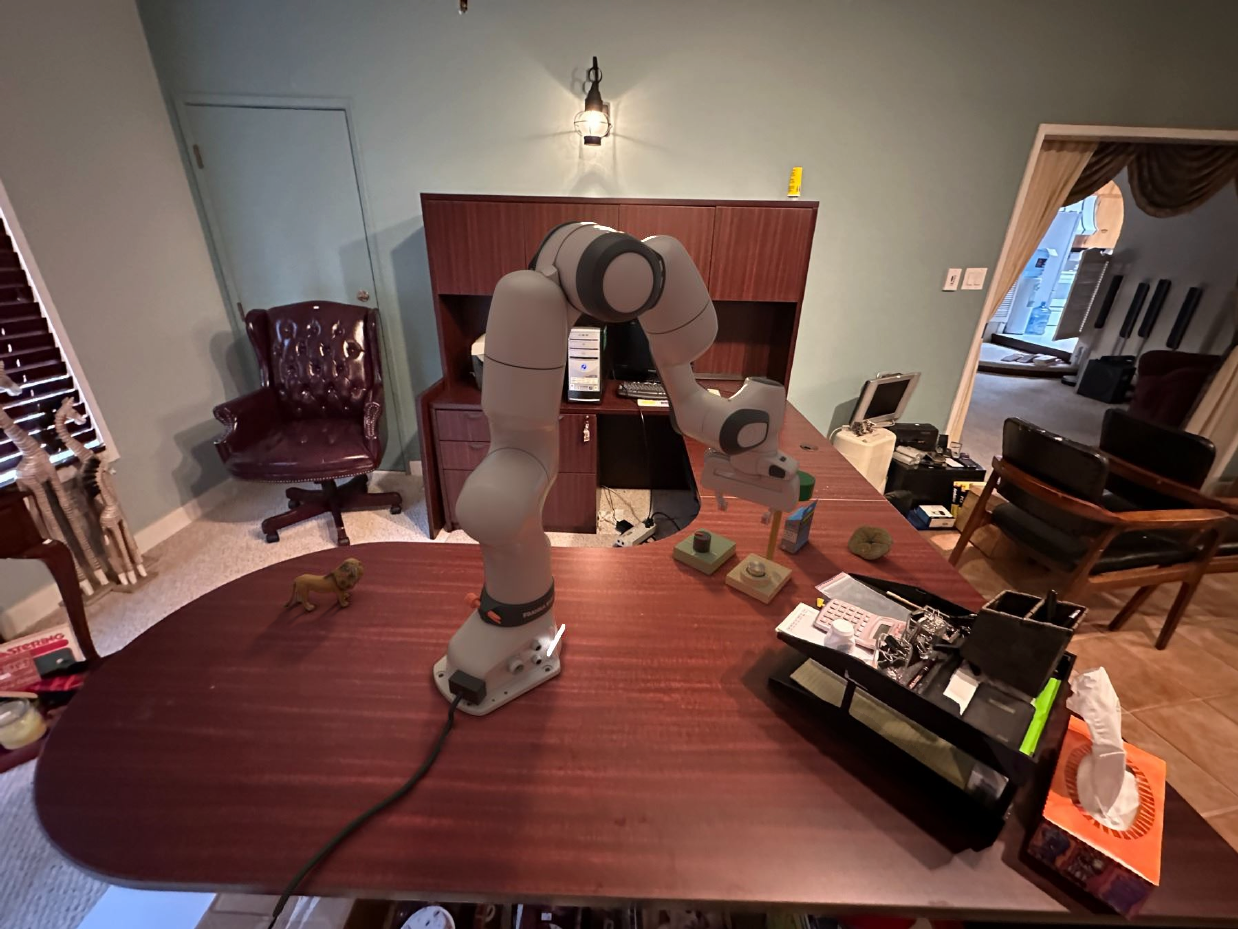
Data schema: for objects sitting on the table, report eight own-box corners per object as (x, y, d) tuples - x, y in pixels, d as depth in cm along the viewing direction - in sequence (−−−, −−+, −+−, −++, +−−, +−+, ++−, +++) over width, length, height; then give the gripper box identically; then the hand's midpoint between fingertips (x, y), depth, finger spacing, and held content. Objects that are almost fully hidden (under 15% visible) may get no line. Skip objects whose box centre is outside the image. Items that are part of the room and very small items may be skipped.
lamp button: (759, 579, 104) (760, 573, 104) (744, 572, 107) (745, 566, 106) (766, 572, 107) (768, 565, 106) (751, 565, 109) (753, 558, 108)
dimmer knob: (710, 545, 117) (712, 531, 115) (708, 554, 113) (710, 540, 112) (694, 541, 118) (695, 528, 116) (691, 550, 114) (692, 537, 113)
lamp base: (767, 604, 103) (770, 588, 101) (724, 583, 109) (727, 568, 107) (790, 578, 111) (793, 563, 110) (750, 560, 117) (752, 545, 115)
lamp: (784, 567, 108) (801, 492, 101) (751, 552, 113) (764, 479, 105) (804, 545, 117) (821, 474, 109) (773, 532, 121) (787, 463, 113)
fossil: (857, 520, 125) (898, 530, 117) (863, 528, 127) (903, 539, 119) (842, 550, 123) (882, 562, 115) (848, 558, 125) (888, 571, 117)
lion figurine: (369, 587, 102) (362, 550, 99) (367, 603, 98) (359, 566, 94) (287, 601, 98) (276, 563, 94) (281, 619, 93) (269, 580, 89)
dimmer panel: (708, 575, 111) (710, 564, 110) (672, 557, 117) (673, 546, 115) (734, 553, 119) (736, 542, 118) (699, 537, 125) (701, 526, 124)
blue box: (793, 534, 128) (803, 492, 123) (808, 540, 126) (818, 498, 121) (778, 548, 122) (788, 504, 117) (794, 555, 120) (804, 510, 115)
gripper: (699, 449, 102) (692, 507, 108) (799, 475, 92) (786, 538, 98) (711, 440, 107) (704, 496, 112) (808, 464, 97) (794, 524, 103)
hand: (743, 516), depth 105 cm, fingers open, 8 cm apart
